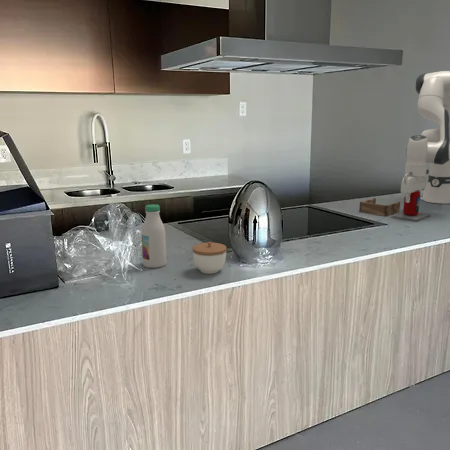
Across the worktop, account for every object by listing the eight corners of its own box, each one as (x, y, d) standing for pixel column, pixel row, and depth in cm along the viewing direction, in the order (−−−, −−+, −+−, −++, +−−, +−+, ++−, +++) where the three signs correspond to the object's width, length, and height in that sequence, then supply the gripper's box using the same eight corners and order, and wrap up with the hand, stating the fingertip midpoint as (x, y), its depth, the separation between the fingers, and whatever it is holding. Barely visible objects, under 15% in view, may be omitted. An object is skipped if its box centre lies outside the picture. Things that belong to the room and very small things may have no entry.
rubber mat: (405, 212, 228) (405, 210, 228) (429, 216, 220) (430, 214, 220) (391, 217, 218) (391, 215, 218) (416, 221, 210) (416, 219, 210)
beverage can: (420, 216, 216) (423, 190, 213) (406, 216, 216) (408, 190, 213) (414, 213, 222) (417, 188, 220) (400, 213, 222) (402, 188, 219)
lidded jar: (187, 268, 150) (186, 240, 147) (216, 262, 155) (215, 235, 153) (202, 278, 141) (202, 249, 138) (232, 272, 146) (233, 243, 144)
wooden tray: (373, 207, 240) (374, 198, 239) (399, 211, 230) (400, 201, 229) (359, 211, 230) (360, 202, 229) (385, 216, 221) (386, 206, 219)
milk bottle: (167, 260, 157) (165, 202, 152) (165, 268, 150) (163, 207, 145) (144, 261, 157) (141, 203, 152) (141, 268, 149) (138, 208, 145)
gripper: (412, 174, 205) (409, 205, 208) (430, 169, 219) (428, 198, 222) (398, 173, 209) (395, 203, 212) (417, 168, 223) (414, 197, 226)
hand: (412, 200), depth 217 cm, fingers open, 8 cm apart
